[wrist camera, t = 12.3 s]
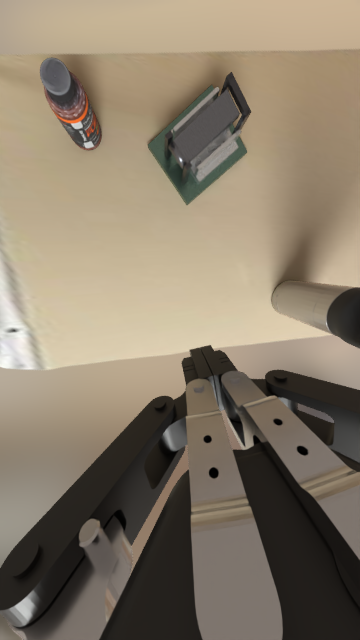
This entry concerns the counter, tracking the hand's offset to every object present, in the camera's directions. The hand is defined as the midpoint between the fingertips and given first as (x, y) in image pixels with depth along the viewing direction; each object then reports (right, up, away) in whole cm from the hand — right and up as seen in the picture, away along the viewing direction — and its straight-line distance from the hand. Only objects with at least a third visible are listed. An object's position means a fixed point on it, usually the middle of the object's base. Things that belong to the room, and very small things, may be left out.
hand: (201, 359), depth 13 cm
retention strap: (-2, +33, +21) cm, 39 cm away
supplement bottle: (-20, +39, +23) cm, 50 cm away
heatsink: (+2, +38, +26) cm, 46 cm away
